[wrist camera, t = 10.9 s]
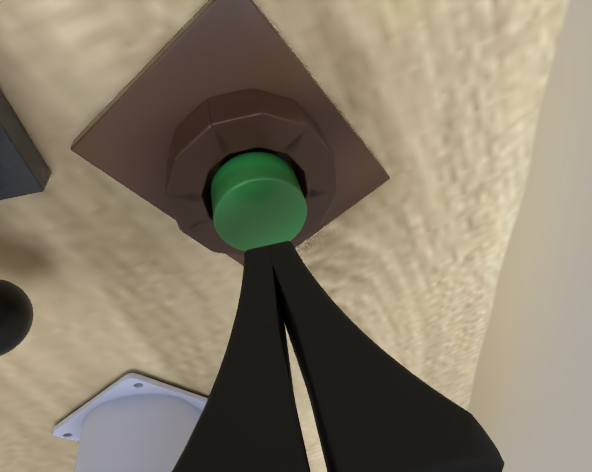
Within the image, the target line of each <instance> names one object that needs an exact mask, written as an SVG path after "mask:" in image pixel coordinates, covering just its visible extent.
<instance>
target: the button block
mask: <svg viewBox="0 0 592 472" xmlns="http://www.w3.org/2000/svg"><path fill="white" fill-rule="evenodd" d="M71 150H72V151H74V152H75V153H77V154H78V155H80V156H81V157H83V158H84V159H86V160H87V161H88V162H90V163H91V164H93V165H94V166H96V167H97V168H99V169H100V170H102V171H103V172H105V173H106V174H108V175H109V176H111V177H112V178H114V179H115V180H117V181H118V182H120V183H121V184H123V185H124V186H126V187H127V188H129V189H130V190H132V191H133V192H135V193H136V194H138V195H139V196H141V197H142V198H144V199H145V200H147V201H148V202H150V203H151V204H153V205H154V206H156V207H157V208H159V209H160V210H162V211H163V212H164V213H166V214H167V215H169V216H170V217H172V218H173V219H175V220H176V221H177V223H178V226H179V228H180V230H182V232H184V233H185V234H187V235H188V236H190V237H191V238H193V239H194V240H196V241H197V242H199V243H200V244H202V245H204V246H205V247H207V248H208V249H210V250H211V251H214V252H218V253H226V254H227V255H229V256H230V257H232V258H233V259H235V260H236V261H238V262H239V263H241V264H242V265H243V266H244V253H245V252H246V251H242V250H239V249H236V248H234V247H232V246H230V245H229V244H227V243H226V242H225V241H224V240H223V239H222V238H221V237H220V236H219V234H218V233H217V231H216V229H215V226H214V221H213V210H212V200H211V184H212V181H213V178H214V176H215V174H216V173H217V171H218V170H219V169H220V167H221V166H222V165H223V164H225V163H226V162H227V161H228V160H230V159H232V158H233V157H236V156H238V155H240V154H244V153H249V152H266V153H270V154H273V155H276V156H278V157H280V158H282V159H283V160H285V161H286V162H287V163H288V164H289V165H290V166H291V167H292V169H293V170H294V172H295V175H296V177H297V180H298V182H299V185H300V188H301V190H302V193H303V196H304V198H305V201H306V205H307V216H306V220H305V223H304V225H303V227H302V229H301V230H300V231H299V233H298V234H297V235H296V236H295V237H294V238H293V239H292V240H291V241H290V242H292V243H293V245H294V247H297V246H298V245H299V244H301V243H302V242H304V241H305V240H306V239H308V238H309V237H310V236H312V235H313V234H315V233H316V232H317V231H319V230H320V229H321V228H323V227H324V226H326V225H327V224H328V223H330V222H331V221H332V220H334V219H335V218H337V217H338V216H339V215H341V214H342V213H343V212H345V211H346V210H348V209H349V208H350V207H352V206H353V205H354V204H356V203H357V202H358V201H360V200H361V199H363V198H364V197H365V196H367V195H368V194H369V193H371V192H372V191H374V190H375V189H376V188H378V187H379V186H380V185H382V184H383V183H385V182H386V181H387V180H389V179H390V177H389V175H388V174H387V172H386V171H385V170H384V168H383V167H382V166H381V165H380V163H379V162H378V161H377V159H376V158H375V157H374V156H373V154H372V153H371V152H370V150H369V149H368V148H367V147H366V145H365V144H364V143H363V141H362V140H361V139H360V138H359V136H358V135H357V134H356V133H355V131H354V130H353V129H352V127H351V126H350V125H349V124H348V122H347V121H346V120H345V118H344V117H343V116H342V115H341V113H340V112H339V111H338V109H337V108H336V107H335V106H334V104H333V103H332V102H331V100H330V99H329V98H328V97H327V95H326V94H325V93H324V91H323V90H322V89H321V88H320V86H319V85H318V84H317V82H316V81H315V80H314V79H313V77H312V76H311V75H310V73H309V72H308V71H307V70H306V68H305V67H304V66H303V64H302V63H301V62H300V61H299V59H298V58H297V57H296V55H295V54H294V53H293V52H292V50H291V49H290V48H289V46H288V45H287V44H286V43H285V41H284V40H283V39H282V37H281V36H280V35H279V34H278V32H277V31H276V30H275V28H274V27H273V26H272V25H271V23H270V22H269V21H268V19H267V18H266V17H265V16H264V14H263V13H262V12H261V11H260V9H259V8H258V7H257V5H256V4H255V3H254V2H253V0H209V1H208V2H207V3H206V4H205V5H204V6H203V7H202V9H201V10H200V11H199V12H198V13H197V14H196V15H195V16H194V17H193V18H192V19H191V20H190V21H189V22H188V23H187V24H186V25H185V26H184V27H183V28H182V29H181V30H180V31H179V32H178V33H177V34H176V35H175V37H174V38H173V39H172V40H171V41H170V42H169V43H168V44H167V45H166V46H165V47H164V48H163V49H162V50H161V51H160V52H159V53H158V54H157V55H156V56H155V57H154V58H153V59H152V60H151V61H150V62H149V63H148V64H147V66H146V67H145V68H144V69H143V70H142V71H141V72H140V73H139V74H138V75H137V76H136V77H135V78H134V79H133V80H132V81H131V82H130V83H129V84H128V85H127V86H126V87H125V88H124V89H123V90H122V91H121V92H120V94H119V95H118V96H117V97H116V98H115V99H114V100H113V101H112V102H111V103H110V104H109V105H108V106H107V107H106V108H105V109H104V110H103V111H102V112H101V113H100V114H99V115H98V116H97V117H96V118H95V119H94V120H93V121H92V123H91V124H90V125H89V126H88V127H87V128H86V129H85V130H84V131H83V132H82V133H81V134H80V135H79V136H78V137H77V138H76V139H75V140H74V141H73V144H72V146H71Z"/></svg>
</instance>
